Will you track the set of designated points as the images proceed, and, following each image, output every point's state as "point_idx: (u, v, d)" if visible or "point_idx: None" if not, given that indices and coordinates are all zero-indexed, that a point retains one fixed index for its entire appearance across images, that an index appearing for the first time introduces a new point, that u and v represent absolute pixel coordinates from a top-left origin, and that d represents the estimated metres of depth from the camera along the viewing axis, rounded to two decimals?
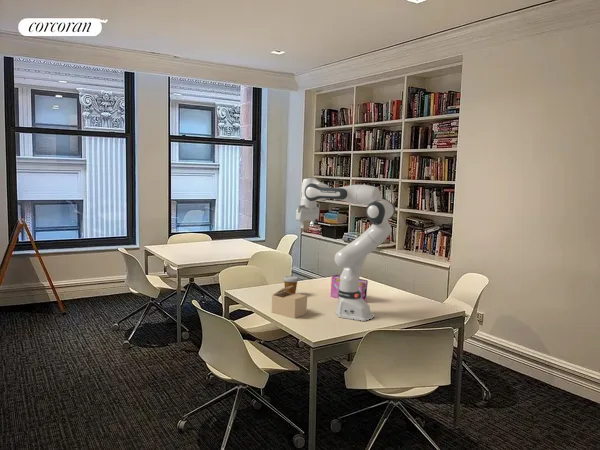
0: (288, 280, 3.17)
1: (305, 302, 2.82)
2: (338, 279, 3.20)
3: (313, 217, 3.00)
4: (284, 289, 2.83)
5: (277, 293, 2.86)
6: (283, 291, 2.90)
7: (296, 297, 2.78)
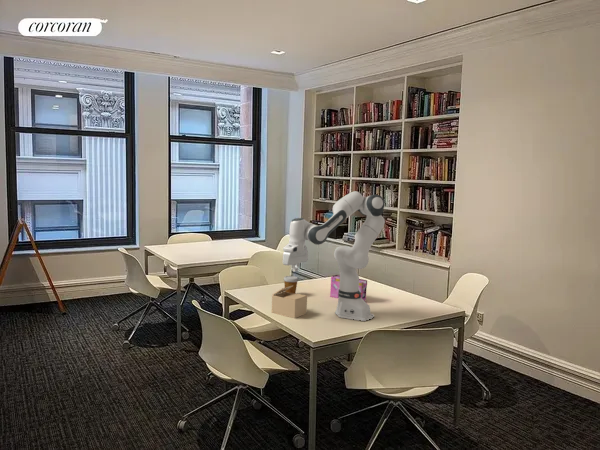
0: (288, 280, 3.17)
1: (305, 302, 2.82)
2: (338, 279, 3.20)
3: None
4: (284, 289, 2.83)
5: (277, 293, 2.86)
6: (283, 291, 2.90)
7: (296, 297, 2.78)
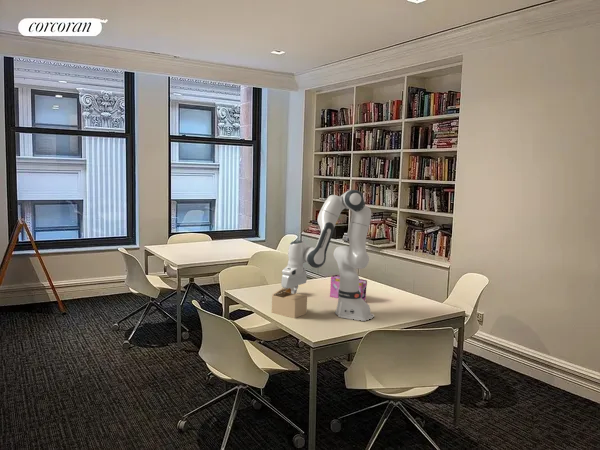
0: None
1: (305, 302, 2.82)
2: (337, 279, 3.20)
3: None
4: (284, 289, 2.83)
5: (277, 293, 2.86)
6: (283, 291, 2.90)
7: (296, 297, 2.78)
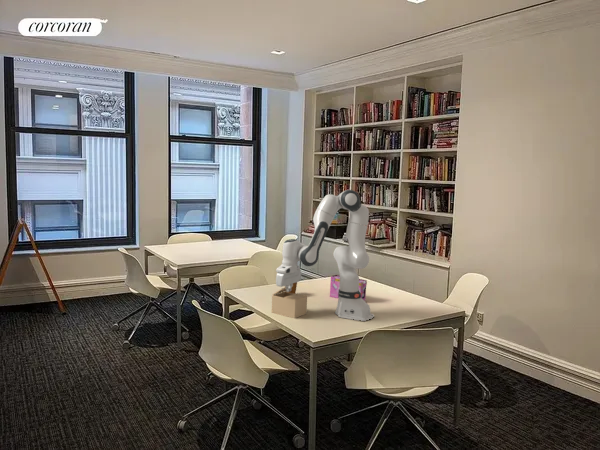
0: None
1: (305, 302, 2.82)
2: (337, 279, 3.20)
3: None
4: (284, 289, 2.84)
5: (277, 293, 2.86)
6: (283, 291, 2.90)
7: (296, 297, 2.78)
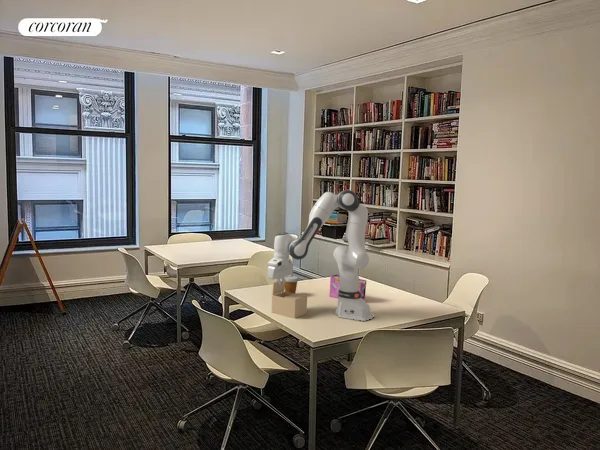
0: (288, 280, 3.17)
1: (305, 302, 2.82)
2: (337, 279, 3.20)
3: None
4: None
5: (277, 293, 2.86)
6: (282, 290, 2.90)
7: (296, 297, 2.78)
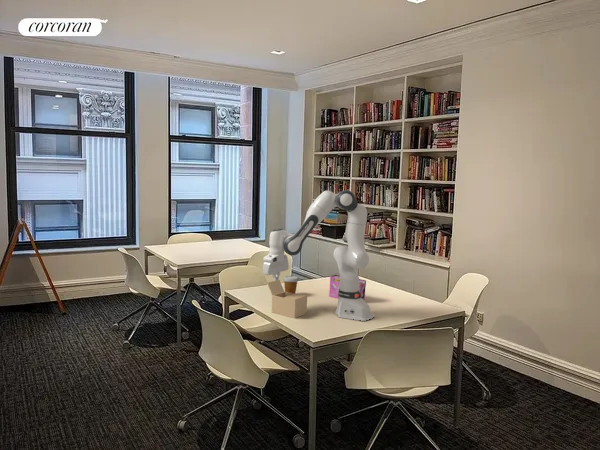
0: (288, 280, 3.17)
1: (305, 302, 2.82)
2: (336, 279, 3.20)
3: None
4: (273, 284, 2.88)
5: (276, 293, 2.86)
6: (281, 290, 2.90)
7: (296, 297, 2.78)
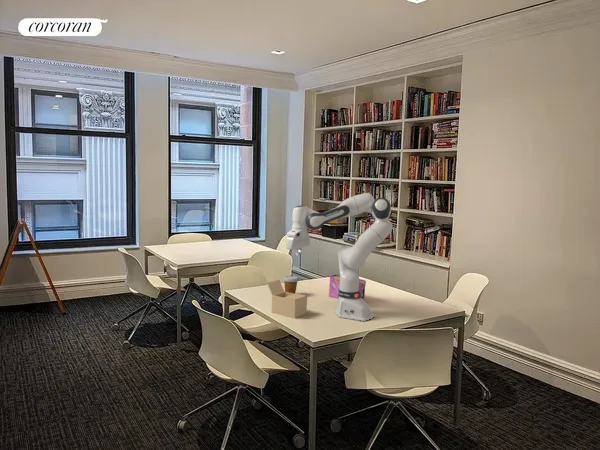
0: (288, 280, 3.17)
1: (305, 302, 2.82)
2: (336, 279, 3.20)
3: None
4: (273, 284, 2.88)
5: (276, 293, 2.86)
6: (281, 290, 2.90)
7: (296, 297, 2.78)
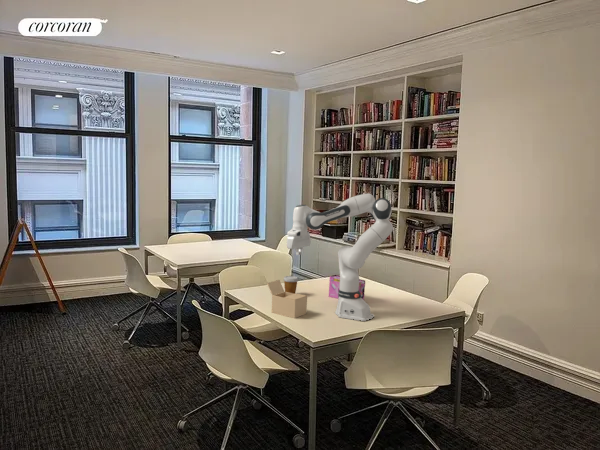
0: (288, 280, 3.17)
1: (305, 302, 2.82)
2: (336, 279, 3.20)
3: None
4: (273, 284, 2.88)
5: (276, 293, 2.86)
6: (281, 290, 2.90)
7: (296, 297, 2.78)
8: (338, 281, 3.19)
